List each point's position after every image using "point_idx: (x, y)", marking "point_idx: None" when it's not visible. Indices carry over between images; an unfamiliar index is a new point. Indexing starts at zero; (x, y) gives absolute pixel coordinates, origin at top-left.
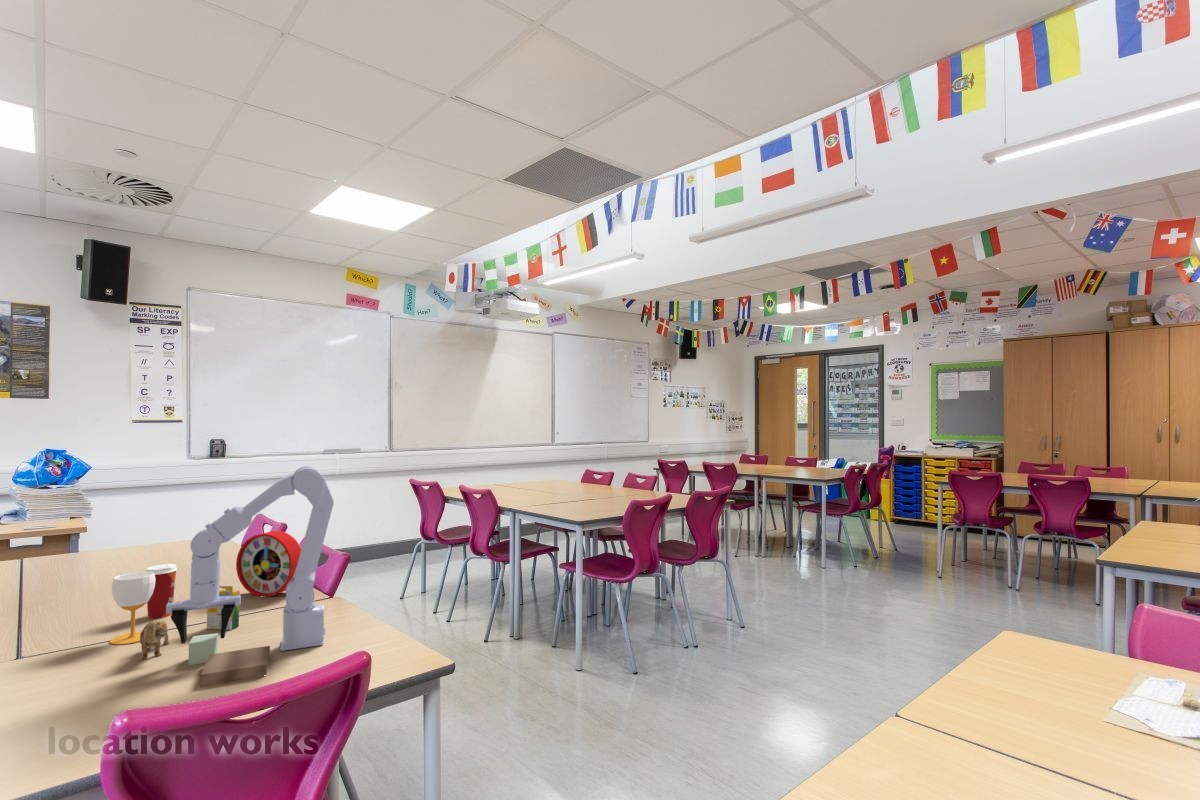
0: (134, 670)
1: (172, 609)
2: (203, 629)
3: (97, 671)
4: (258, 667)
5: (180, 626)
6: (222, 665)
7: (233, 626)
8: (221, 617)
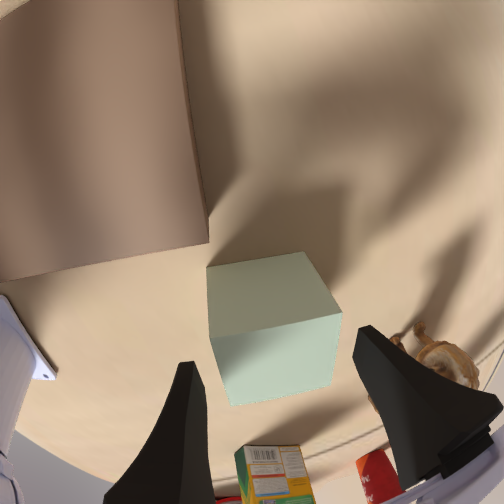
0: (441, 249)
1: (492, 452)
2: (305, 443)
3: (485, 266)
4: None
5: (428, 384)
6: (80, 46)
7: (242, 452)
8: (181, 473)
